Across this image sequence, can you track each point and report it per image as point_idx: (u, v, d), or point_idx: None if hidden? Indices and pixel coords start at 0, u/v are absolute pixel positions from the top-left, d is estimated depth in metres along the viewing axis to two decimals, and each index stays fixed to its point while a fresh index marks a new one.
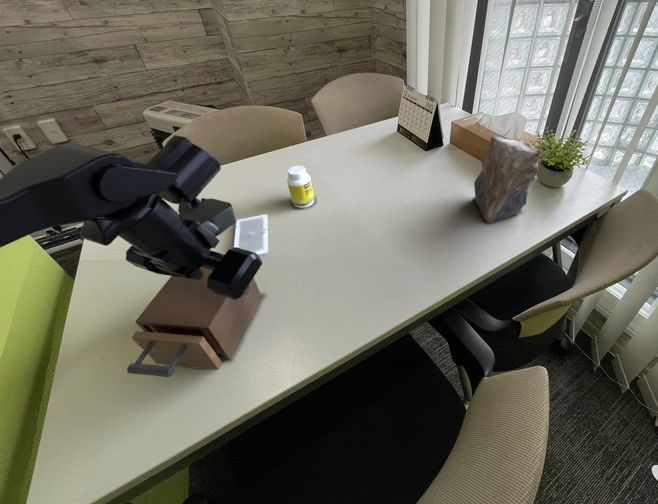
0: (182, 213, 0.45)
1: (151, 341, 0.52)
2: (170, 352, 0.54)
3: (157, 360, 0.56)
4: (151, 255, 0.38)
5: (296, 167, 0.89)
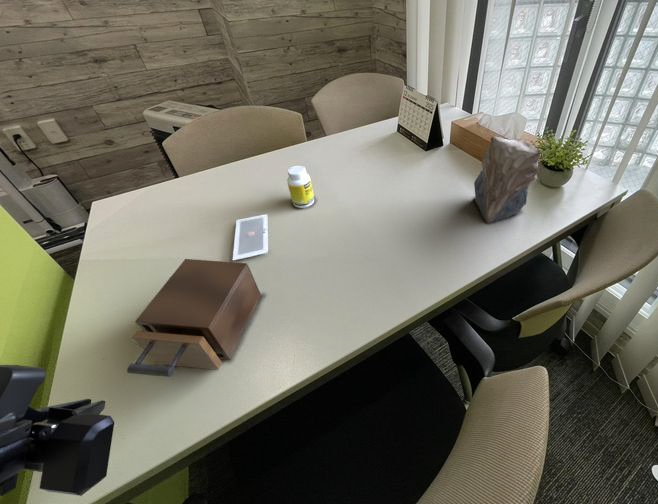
0: None
1: (151, 341, 0.52)
2: (170, 352, 0.54)
3: (157, 360, 0.56)
4: None
5: (296, 167, 0.89)
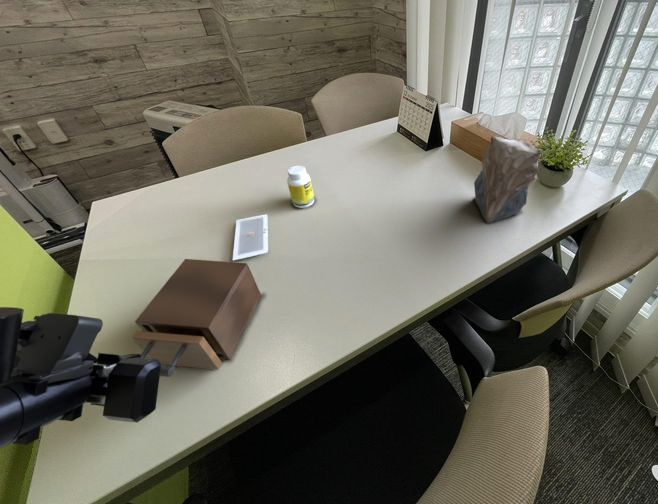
0: (19, 355, 0.34)
1: (151, 341, 0.52)
2: (170, 352, 0.54)
3: None
4: None
5: (296, 167, 0.89)
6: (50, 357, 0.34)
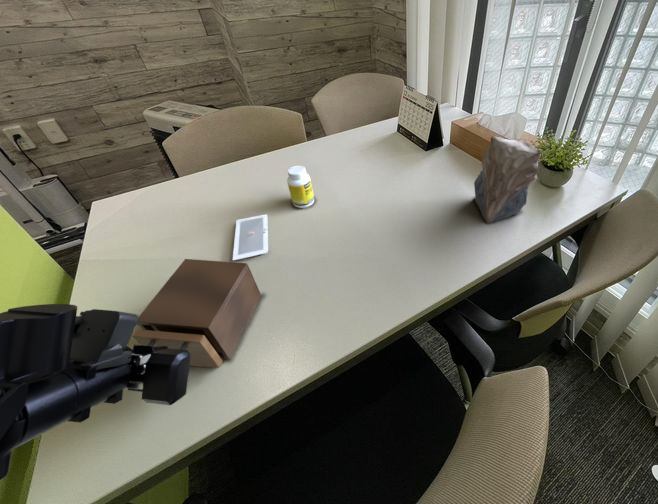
0: None
1: (152, 340, 0.52)
2: None
3: None
4: None
5: (296, 167, 0.89)
6: (96, 347, 0.39)
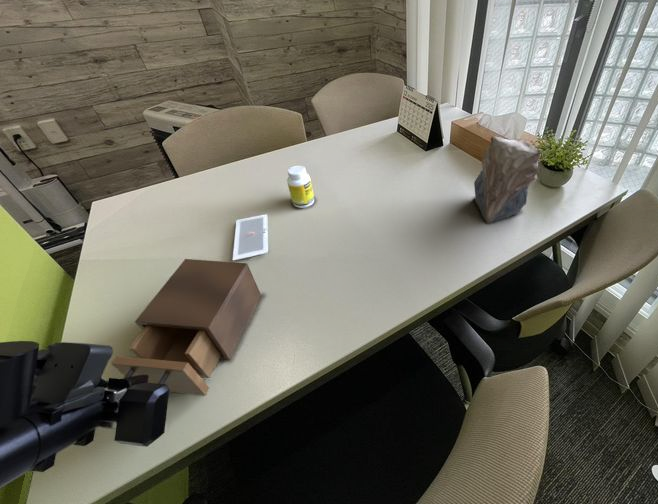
0: (34, 384, 0.36)
1: (132, 367, 0.48)
2: (153, 378, 0.50)
3: None
4: None
5: (296, 167, 0.89)
6: (64, 386, 0.36)
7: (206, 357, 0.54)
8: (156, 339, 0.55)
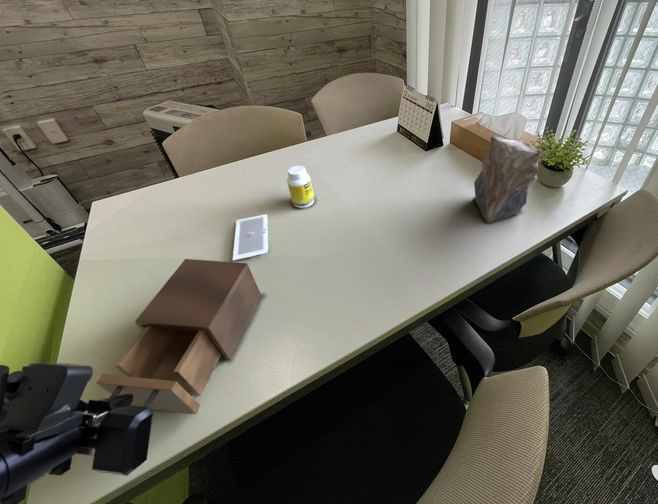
0: (6, 409, 0.34)
1: (118, 386, 0.46)
2: (141, 397, 0.48)
3: None
4: None
5: (296, 167, 0.89)
6: (38, 412, 0.33)
7: (196, 374, 0.52)
8: (145, 355, 0.53)
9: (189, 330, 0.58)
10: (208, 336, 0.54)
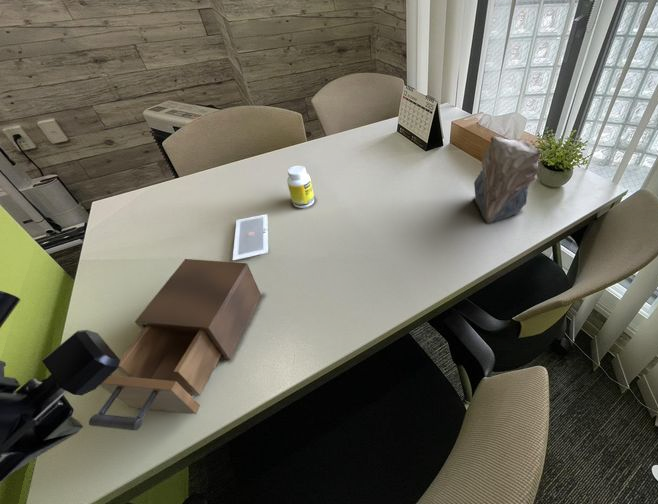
0: None
1: (118, 386, 0.46)
2: (141, 397, 0.48)
3: (128, 404, 0.51)
4: None
5: (296, 167, 0.89)
6: None
7: (196, 374, 0.52)
8: (145, 355, 0.53)
9: (189, 330, 0.58)
10: (208, 336, 0.54)
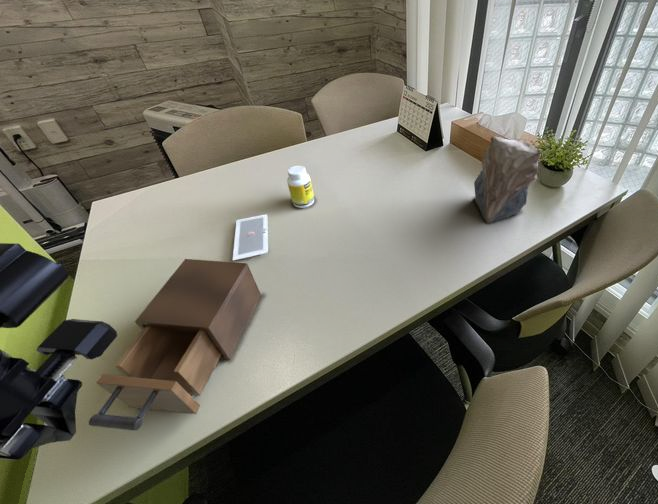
0: None
1: (118, 386, 0.46)
2: (141, 397, 0.48)
3: (128, 404, 0.51)
4: (2, 375, 0.29)
5: (296, 167, 0.89)
6: None
7: (196, 374, 0.52)
8: (145, 355, 0.53)
9: (189, 330, 0.58)
10: (208, 336, 0.54)
